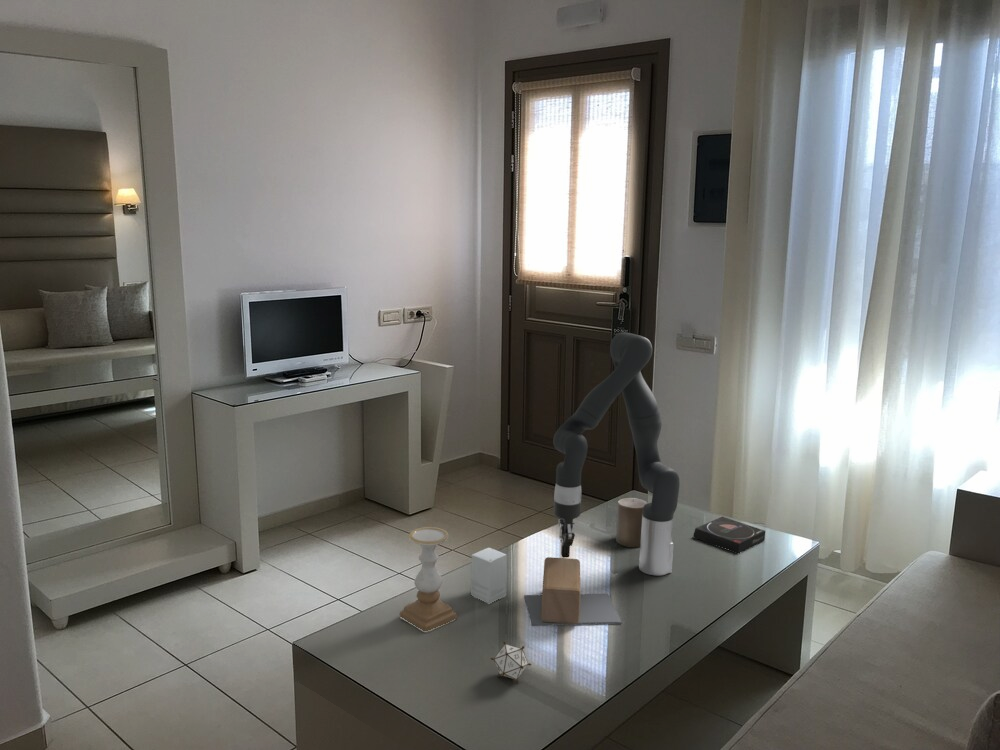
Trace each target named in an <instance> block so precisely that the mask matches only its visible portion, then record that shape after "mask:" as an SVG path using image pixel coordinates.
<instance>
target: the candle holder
mask: <svg viewBox="0 0 1000 750" xmlns="http://www.w3.org/2000/svg"><path fill="white" fill-rule="evenodd" d="M408 535H409V536H408V538H409V541H411V542H412V543H413V544H415V545H419V546H420V547H421V553H420V554H419V555H418V560H419V561H420V563H421V568H420V570H419V571H418V572H417V574H416V575H415V579H414V586H415V588H416V589H417V590H418V591H417V592H416V598H417V600H415V601H413V602H411V603H409V604H407V605H405V606H403V609H402V610H401V611H400V612H399V618H400V617H402V618H404V619H405V620H407V621H408V622H410V623H412V624H413V625H415V626H416V627H418V628H420V629H422V630H423V631H428V630H431V629H433V628H436V627H438V626H441V625H443V624H446V623H448V622H450V621H452V620H454V619H456V620H457V612H455V611H453V608H452V606H450V605H449V604H447V603H445V602H444V601H442V600H441V599H440V597H441V594H440V591H439V590H440V588H442V586H443V578H442V576H441V574H440V572H439V571H438V569H437V568H436V563H437V561H439V559H440V558H439V555H438V554H437V552H436V549H437V547H438V545H441V544H443V543H446V542H447V540H448V538H449V533H448V531H446V530H445V529H443V528H440V527H434V526H423V527H418V528H416V529H413V530H411V532H410V533H409V534H408ZM446 625H447V624H446Z"/></svg>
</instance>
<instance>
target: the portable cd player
mask: <svg viewBox="0 0 1000 750" xmlns="http://www.w3.org/2000/svg"><path fill="white" fill-rule="evenodd" d="M692 536H693V538H694V537H695V538H694V539H696V538H697V539H696V540H699V539H700V540H699V541H702V540H703V541H702V542H704V541H705V543H707V544H709V545H712V546H715V545H717V546H716V547H718V546H720V547H719V548H721V547H723V548H726V549H729V550H731V551H730V552H732V551H734V552H736V553H735V554H737V553H739V554H740V552H741V553H743V552H744V551H747V550H749V549H751V548H753V547H755V546H757V545H758V544H760V543H763V542H765V539H766V530H764V529H760V528H758V527H755V526H751V525H749V524H746V523H744V522H741V521H740V522H739V521H737V520H735V519H731V518H729V517H725V516H720V517H718V518H716V519H714V520H710V521H708V522H707V523H704V524H702V525H699V526H697V527H695V529H694V531H693V535H692ZM723 548H722V549H723ZM726 549H725V550H726ZM729 550H728V551H729ZM734 552H733V553H734Z"/></svg>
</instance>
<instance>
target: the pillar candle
mask: <svg viewBox="0 0 1000 750" xmlns="http://www.w3.org/2000/svg"><path fill="white" fill-rule="evenodd" d="M647 503H648V502H647V501H645V500H643V499H640V498H636V497H627V498H626V497H625V498H621V499H619V500H618V501H617V515H616V516H617V520H616V535H615V537H616V538H615V542H616V543H617V544H619V545H621V546H622V547H623V546H624V547H627V548H640V543H641V528H642V512H643V507H644V505H645V504H647Z"/></svg>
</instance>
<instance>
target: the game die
mask: <svg viewBox="0 0 1000 750" xmlns="http://www.w3.org/2000/svg"><path fill="white" fill-rule="evenodd" d="M524 649H525V645H523V646H522V647H520V646H519V647H518V646H514V645H511V644H507V642H506V641H505V640H503V645H502V647H501V649H500V650H499V651H498V652H497V654H496V655H495V656H494V657H490V660H491V661H493V662H494V664H495V666H496V669H497V672H498V674H497V677H498V678H500V677H505V678H508V679H513V680H515V681H516V682H515V683H517V684H519V681H520V680H519V678H520V676H521V675H522V674H523V673H524V671H525V670H526V669H527V667H528V666H532V664H531V663H529V662H528V659H527V657H526V655H525V652H524Z"/></svg>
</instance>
